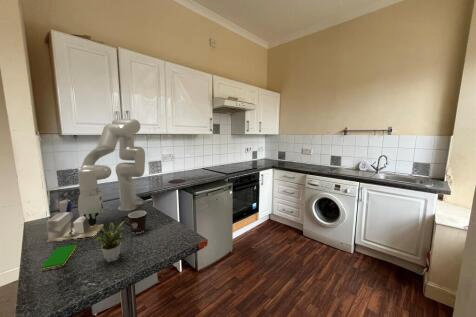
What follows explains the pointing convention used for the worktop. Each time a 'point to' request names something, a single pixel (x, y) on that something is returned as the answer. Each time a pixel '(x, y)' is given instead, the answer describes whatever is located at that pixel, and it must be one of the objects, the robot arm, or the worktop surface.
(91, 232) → the base
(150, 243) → the worktop surface
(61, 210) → the energy drink
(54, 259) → the dish sponge
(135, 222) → the coffee mug
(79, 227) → the white rectangular block
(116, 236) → the house plant
